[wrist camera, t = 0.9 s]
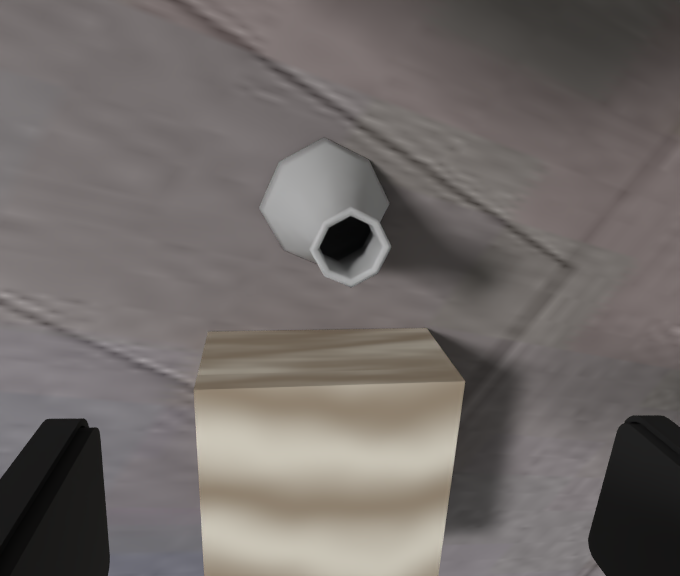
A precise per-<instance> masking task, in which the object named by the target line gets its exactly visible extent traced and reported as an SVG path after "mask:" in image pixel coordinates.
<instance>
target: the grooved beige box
mask: <svg viewBox="0 0 680 576" xmlns="http://www.w3.org/2000/svg"><path fill="white" fill-rule="evenodd" d="M464 387H465V380H464V379H463V378H462V376H461V375H460V373H459V372H458V371H457V369H456V368H455V367H454V365H453V364H452V362H451V361H450V360H449V358H448V357H447V355H446V354H445V353H444V351H443V350H442V349H441V347H440V346H439V344H438V343H437V342H436V340H435V339H434V338H433V336H432V335H431V333H430V332H429V331H428V329H427V328H400V329H339V330H277V331H216V332H208V335H207V339H206V343H205V347H204V351H203V355H202V359H201V363H200V367H199V371H198V375H197V379H196V383H195V387H194V402H195V420H196V437H197V455H198V473H199V490H200V508H201V525H202V543H203V561H204V576H438V573H439V566H440V559H441V552H442V545H443V537H444V530H445V523H446V516H447V509H448V502H449V494H450V487H451V480H452V473H453V466H454V458H455V451H456V444H457V437H458V430H459V422H460V415H461V408H462V401H463V394H464Z"/></svg>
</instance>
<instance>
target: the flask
mask: <svg viewBox="0 0 680 576" xmlns="http://www.w3.org/2000/svg"><path fill="white" fill-rule="evenodd" d="M389 204H390V203H389V201H388V199H387V197H386V195H385V192H384V190H383V188H382V186H381V184H380V182H379V180H378V178H377V176H376V174H375V171H374V169H373V167H372V165H371V163H370V161H369V159H367V158H365V157H363V156H361V155H359V154H357V153H355V152H353V151H351V150H349V149H347V148H345V147H343V146H341V145H339V144H337V143H335V142H333V141H331V140H329V139H327V138H325V137H324V138H322V139H320V140H318V141H316V142H314V143H313V144H311V145H309V146H307V147H305V148H303V149H302V150H300V151H298V152H296V153H294V154H292V155H291V156H289V157H287V158H285V159H283V160H281V161H280V162H279V163H278V165H277V168H276V170H275V172H274V175H273V177H272V179H271V181H270V184H269V186H268V188H267V191H266V193H265V195H264V197H263V200H262V202H261V204H260V207H259V209H260V211H261V212H262V214H263V216H264V218H265V219H266V221H267V223H268V224H269V226H270V228H271V230H272V231H273V233H274V235H275V236H276V238H277V240H278V242H279V243H280V245H281V247H282V249H283V250H285V251H287V252H289V253H292V254H294V255H296V256H299V257H301V258H303V259H306V260H308V261H310V262H313V263H315V264H317V265H318V266H319V268H320V270H321V271H322V273H323V275H324V276H325V277H327V278H330V279H332V280H334V281H337V282H339V283H341V284H344V285H346V286H349V287H353V286H355V285H357V284H359V283H361V282H363V281H365V280H366V279H368V278H370V277H372V276H374V275H376V274H378V272H379V270H380V268H381V266H382V264H383V263H384V261H385V259H386V257H387V255H388V253H389V251H390V249H391V247H392V246H391V244H390V242H389V240H388V238H387V236H386V234H385V232H384V230H383V228H382V226H381V224H380V222H381V220H382V218H383V216H384V214H385V212H386V210H387V208H388V206H389Z"/></svg>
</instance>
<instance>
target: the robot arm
mask: <svg viewBox="0 0 680 576" xmlns="http://www.w3.org/2000/svg"><path fill="white" fill-rule="evenodd" d="M588 543H589V549H590V552H591V555H592V557H593V558H594V560H595V561H596V563H597V564H598V565H599V567H600V568H601V570H602V571H603V572H604V574H605V575H606V576H680V427H679V426H678V425H676V424H675V423H674V422H672V421H671V420H670V419H668V418H666V417H664V416H658V415H657V416H631V417H629V418H628V419H627V420H626V421H625V423H624V424H622V425H621V426H620V427H619V428H618V430H617V434H616V437H615V441H614V445H613V448H612V452H611V456H610V459H609V463H608V467H607V470H606V474H605V478H604V482H603V485H602V489H601V493H600V496H599V500H598V504H597V507H596V511H595V515H594V518H593V522H592V526H591V530H590V533H589V538H588ZM109 563H110V554H109V541H108V528H107V516H106V503H105V490H104V478H103V465H102V452H101V440H100V432H99V429H98V428H89V426H88V423H87V420H85V419H46V420H45V421H44V422H43V423H42V424H41V426H40V427H39V428H38V430H37V431H36V432H35V434H34V435H33V436H32V438H31V439H30V440H29V442H28V443H27V444H26V446H25V447H24V448H23V450H22V451H21V452H20V454H19V455H18V456H17V458H16V459H15V460H14V462H13V463H12V464H11V466H10V467H9V468H8V470H7V471H6V472H5V474H4V475H3V476H2V478H1V479H0V576H108V572H109Z"/></svg>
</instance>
